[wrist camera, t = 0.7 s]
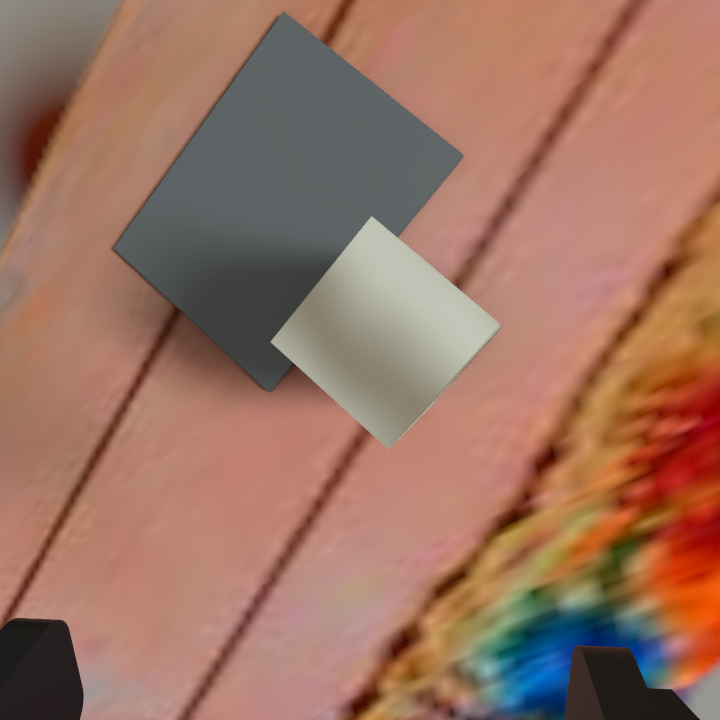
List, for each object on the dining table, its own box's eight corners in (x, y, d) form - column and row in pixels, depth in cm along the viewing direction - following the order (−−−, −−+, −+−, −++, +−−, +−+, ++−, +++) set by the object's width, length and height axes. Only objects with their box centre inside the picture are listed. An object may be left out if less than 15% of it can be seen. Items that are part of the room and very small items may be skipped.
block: (421, 261, 36) (371, 216, 22) (500, 328, 35) (500, 323, 21) (356, 339, 37) (270, 341, 23) (431, 406, 36) (388, 449, 22)
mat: (286, 15, 37) (283, 11, 36) (463, 157, 35) (462, 154, 34) (118, 249, 40) (113, 248, 40) (271, 391, 38) (268, 392, 38)
